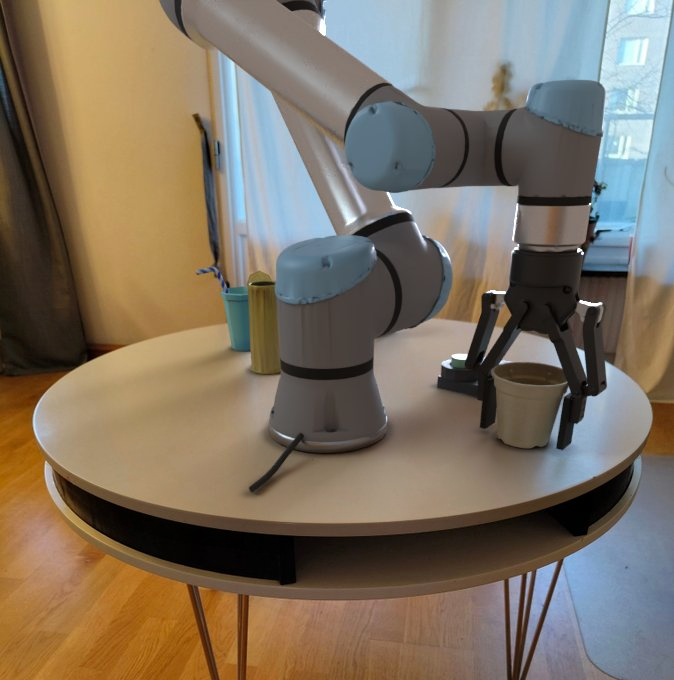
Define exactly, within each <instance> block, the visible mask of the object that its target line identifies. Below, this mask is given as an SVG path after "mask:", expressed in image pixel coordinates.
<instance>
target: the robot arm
mask: <svg viewBox="0 0 674 680" xmlns="http://www.w3.org/2000/svg"><path fill="white" fill-rule="evenodd" d="M158 2H159V4H160V6H161V8H162V10H163V12H164V13H165V15H166V17H167V19H168V20H169V21H170V22H171V24H172V25H173V26H174V27H175V28H176V29H177V30H178V31H179V32H181V33H182V34H183V35H184V36H185V37H186V38H187V39H189V40H190V41H192V42H193V43H194V44H195V45H196V46H198V47H199V48H201V49H203V50H206V51H219V52H220V53H221V54H223V55H224V56H225V57H226V58H227V59H229V60H231V62H233V63H234V64H236V66H237V67H239V68H240V69H241V70H243V71H244V72H245V73H246V74H247V75H249V76H250V77H251V78H252V79H254V80H255V81H257V82H258V83H259V84H260V85H262V86H263V87H264V88H265V89H267V90H268V91H269V92H270V93H271V95H272V97H273V100H274V102H275V104H276V107H277V108H278V111H279V112H280V115H281V118H282V120H283V122H284V124H285V126H286V128H287V130H288V132H289V135H290V136H291V139H292V141H293V143H294V145H295V147H296V151H297V153H298V154H299V156H300V158H301V161H302V163H303V165H304V167H305V169H306V172H307V174H308V177H309V178H310V180H311V182H312V184H313V187H314V189H315V191H316V193H317V196H318V197H319V200H320V202H321V204H322V206H323V209H324V211H325V213H326V215H327V217H328V219H329V222H330V223H331V226H332V228H333V230H334V233H335V235H328V236H325V237H313V238H309V239H305V240H301V241H298V242H295V243H293V244H291V245H288V246H287V247H286V248H284V249H283V250H282V251H281V252H280V253H279V254H278V256H277V258H276V262H275V281H276V282H275V294H276V303H277V318H278V332H279V348H280V366H281V372H280V375H279V380H278V384H277V386H276V392H275V397H274V403H273V405H272V407H271V409H270V412H269V420H268V422H269V423H268V424H269V425H268V426H269V433H270V434H269V435H270V436H271V437H272V439H273V440H275V441H276V442H277V443H279V444H280V445H283V446H285V447H286V448H285V450H284V451H283V452H282V453H281V455H280V456H279V457H278V459H277V460H276V461H275V462H274V464H273V465H272V466H271V467H270V468H269V469H268V471H267V472H265V474H263V475H262V477H260V478H259V479H257V480H256V481H255V482H254V483H253V484H251V485H249V487H248V490H249V492H251V493H254V492H256V491H257V490H259V488H261V487H263V486H264V485H265V484H266V483H267V482H268V481H269V480H271V479H272V478H273V476H274V475H275V474H276V473H277V472H278V471H279V469H280V468H281V467H282V466H283V464H284V463H285V462H286V460H287V459H288V458H289V456H290V455H291V454H292V453H293V451H294V450H297V451H301V452H308V453H317V454H318V453H319V454H321V453H322V454H324V453H325V454H331V453H344V452H351V451H355V450H359V449H363V448H366V447H368V446H371V445H374V444H375V443H377V442H379V441H380V440H381V439H382V438H383V437H385V435H386V434H387V431H388V416H387V411H386V408H385V405H384V404H383V401H382V396H381V393H380V390H379V389H380V388H379V386H378V382H377V379H376V375H375V371H374V370H375V369H374V367H375V363H374V361H375V360H374V359H375V358H374V357H375V339H379V338H381V337H384V336H388V335H391V334H394V333H398V332H400V331H403V330H409V329H410V330H411V329H414V328H416V327H418V326H420V325H421V324H423V323H425V322H427V321H430V320H431V319H433V318H434V317H436V316H437V315H438V314H439V313H440V312H441V311H442V310H443V308H444V307H445V305H446V304H447V302H448V300H449V296H450V292H451V290H452V287H453V281H454V278H453V277H454V276H453V274H454V273H453V272H454V271H453V265H452V261H451V258H450V256H449V253H448V252H447V251H446V249H445V248H444V246H443V245H442V244H441V243H440V242H439V241H438V240H436V239H433V238H431V237H429V236H428V235H424V234H421V232H420V229H419V226H418V225H417V222H416V221H415V219H414V217H413V215H412V212H411V211H410V210H408V209H405V208H401V207H399V206H397V205H395V203H394V201H393V198H392V197H391V195H390V194H400V193H405V192H409V191H418V190H420V191H421V190H430V189H448V188H463V187H517V199H516V210H515V217H514V226H513V234H512V242H514V243H515V244H517V246H515V247H514V248H513V249H512V250H511V254H510V255H511V256H510V265H509V273H508V281H509V284H508V287H507V289H506V291H499V290H498V289H493V290H490V291H489V290H488V291H486V292H483V293H482V294H481V300H480V302H481V304H480V305H481V306H480V309H481V310H480V314H479V318H478V321H477V324H476V327H475V331H474V333H473V337H472V340H471V343H470V345H469V348H468V352H467V354H466V355H467V358H466V361H465V368H466V369H468V370H473V371H474V372H476V373H477V375H478V386H477V396H476V399H477V400H478V401H480V402H481V408H480V409H481V411H480V421H479V429H483V430H486V429H488V428H489V427H490V426H491V427H492V426H493V424H495V423H496V420H497V399H496V387H495V385H494V377H493V376H492V374H491V370H492V368H493V367H495V366H497V365H499V363H500V362H501V360H504V358H505V356H506V355H507V354H508V352H509V350H510V349H511V347H512V346H513V344H514V343H515V341H516V340H517V338H518V337H519V336H520V334H521V333H522V331H523V332H536V333H538V334H541V335H547V336H548V338H549V341H550V342H551V344H553V347H554V349H555V352H556V355H557V358H558V360H559V364H560V366H561V368H562V369H563V372H564V375H565V378H566V380H567V383H568V389H569V391H570V392H569V393H566V394H565V395H563V398H562V406H561V413H560V419H559V425H558V432H557V440H556V447H555V449H556V450H558V451H563V450H564V449H566V448H567V447H568V446H569V445H571V444H572V441H573V440H572V439H573V433H574V428H575V425H577V424H579V423H580V422H582V421H583V419H584V417H585V413H586V412H585V411H586V407H587V401H588V397H597V396H598V395H600V394H601V393H603V392H604V391H605V390H607V388H608V381H607V380H608V379H607V372H606V371H607V367H606V359H605V347H604V336H603V333H604V332H603V321H604V319H605V314H606V310H607V306H606V304H605V303H604V302H597V303H593V302H592V303H591V302H588V301H583V300H581V298H580V297H581V296H580V294H579V286H580V281H581V274H582V267H583V261H584V255H585V252H583V249H581V248H580V247H579V246H582V245H583V244H584V243H586V239H587V235H588V227H589V220H590V214H591V208H592V200H593V191H594V185H595V179H596V174H597V168H598V161H599V157H600V156H599V155H600V149H601V145H602V144H601V143H602V138H603V137H604V132H605V131H604V119H605V109H606V97H607V95H606V94H607V93H606V92H607V91H606V88H605V87H604V85H603V84H602V83H600V82H599V81H596V80H591V79H561V80H549V81H546V82H539V83H535V84H533V85H532V86H531V87H530V88H529V90H528V93H527V97H526V101H525V102H524V106H521V107H518V108H512V109H494V110H493V109H492V110H469V109H458V108H446V107H440V106H439V107H437V106H428V105H423V104H421V103H420V102H418V101H416V100H415V99H414V98H412V97H410V96H409V95H408V94H407V93H405V92H404V91H402V90H401V89H399V88H397V87H396V86H394V84H393V83H392V82H390V81H388V80H387V79H386V78H384V77H383V76H382V75H381V74H379V73H377V71H375V70H373V69H372V68H371V67H369V66H368V65H367V64H365V63H364V62H362V61H361V60H359V59H358V58H357V57H355V56H354V55H352V53H350V52H348V51H347V50H346V49H344V48H343V47H342V46H340V45H339V44H337V43H336V42H335V41H333V40H332V39H331V38H329V37H328V36H326V24H325V21H326V14H327V9H325V8H324V6H325V5H324V4H325V3H326V2H327V0H158ZM504 305H506V307H507V309H508V311H509V314H510V317H509V319H508V320H507V322H506V323H505V325H503V328H502V331H501V333H500V335H499V336H498V338H497V339H496V341H495V342H494V344H493V345H492V347H491V348H490V350H489V352H488V353H487V350H488V347H489V344H490V341H491V339H492V336H493V334H494V330H495V327H496V325H497V321H498V318H499V315H500V311H501V309H503V307H504ZM576 313H577V314H578V316H579V322H580V323H582V341H583V351H584V361H585V369H584V366H583V363H582V360H581V358H580V354H579V353H578V349H577V346H576V343H575V339H574V337H573V329H572V327H571V323H570V319H571V317H572V316H573V315H574V314H576ZM486 353H487V354H486ZM484 356H485V357H486V358H485V359H484ZM483 359H484V361H483Z"/></svg>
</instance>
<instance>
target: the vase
mask: <svg viewBox="0 0 674 680" xmlns="http://www.w3.org/2000/svg"><path fill="white" fill-rule="evenodd" d="M275 282H276V280H273V281H270V280H263V281H254V282H250V283H248V300H249V318H250V358H251V359H250V361H251V364H250V370H251V371H252V372H253V373H255V374H260V375H275V374H281V366H280V348H279V332H278V318H277V303H276V294H275Z"/></svg>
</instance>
